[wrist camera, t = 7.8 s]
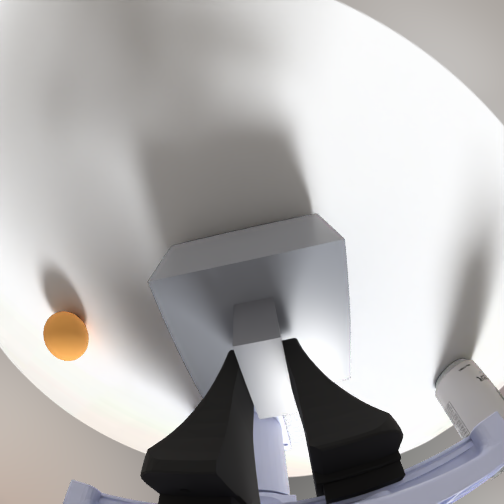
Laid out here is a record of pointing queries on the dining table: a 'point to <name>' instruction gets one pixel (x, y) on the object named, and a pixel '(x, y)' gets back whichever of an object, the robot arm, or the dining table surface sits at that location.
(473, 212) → the dining table surface
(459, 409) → the energy drink can
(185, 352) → the grey stepped block
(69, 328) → the ball
